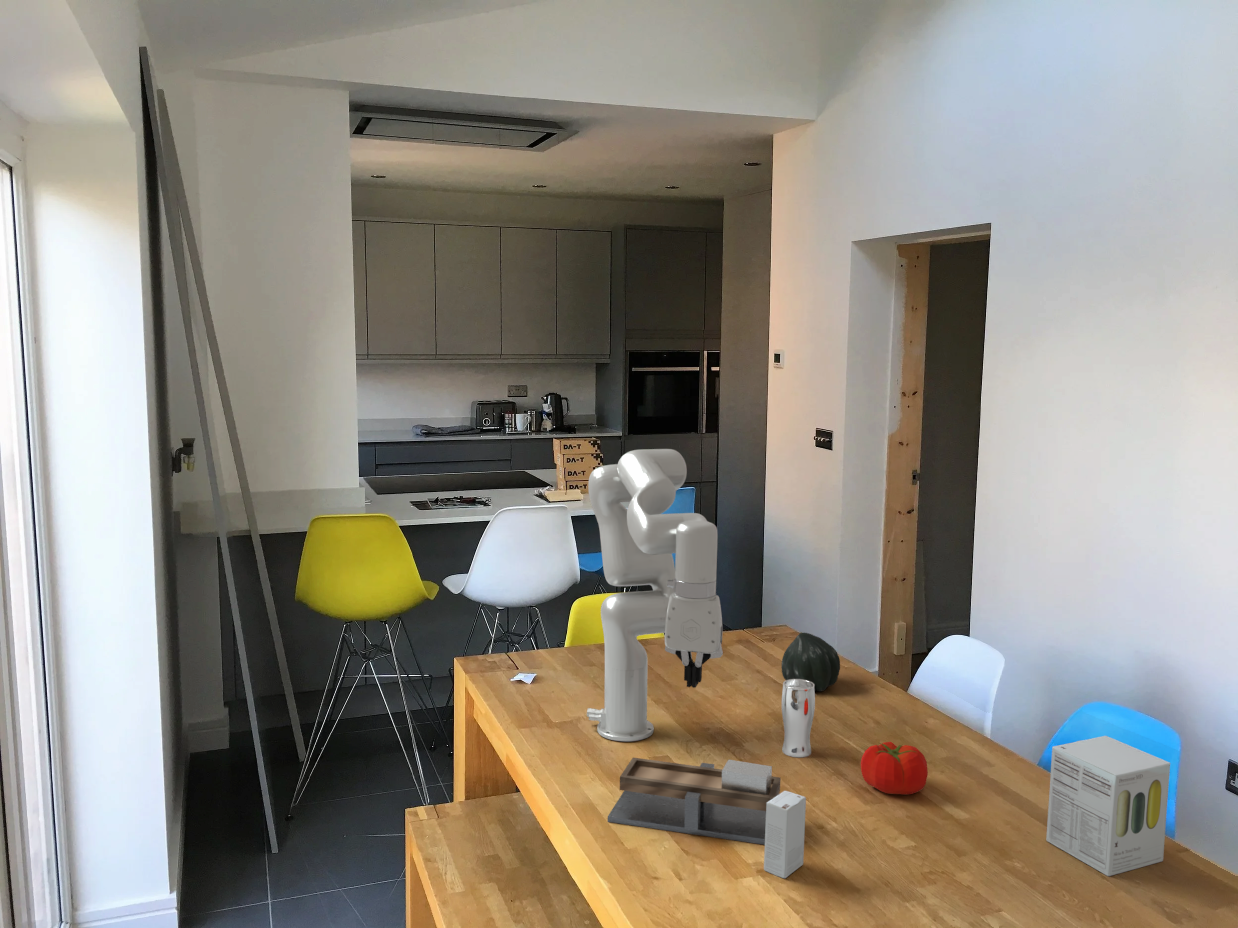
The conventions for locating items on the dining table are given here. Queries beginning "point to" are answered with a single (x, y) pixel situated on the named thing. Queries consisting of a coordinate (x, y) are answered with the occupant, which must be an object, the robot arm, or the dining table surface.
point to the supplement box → (1108, 804)
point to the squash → (811, 661)
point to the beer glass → (797, 716)
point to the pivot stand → (690, 816)
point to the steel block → (746, 777)
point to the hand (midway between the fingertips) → (692, 684)
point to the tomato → (894, 768)
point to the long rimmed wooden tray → (689, 783)
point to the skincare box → (784, 834)
